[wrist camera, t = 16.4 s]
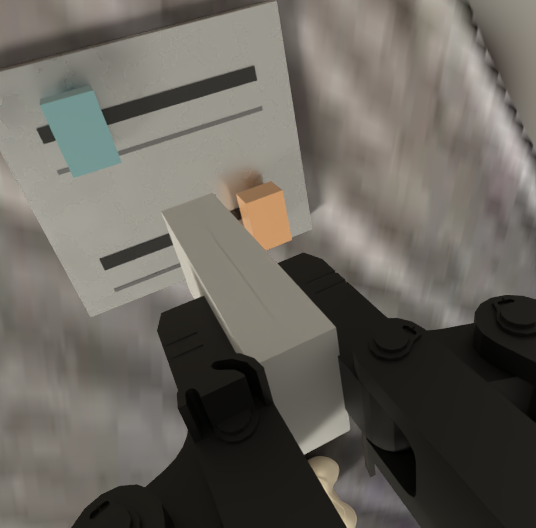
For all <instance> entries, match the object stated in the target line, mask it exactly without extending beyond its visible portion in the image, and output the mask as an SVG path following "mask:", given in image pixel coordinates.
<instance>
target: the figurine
mask: <svg viewBox="0 0 536 528" xmlns="http://www.w3.org/2000/svg"><path fill="white" fill-rule="evenodd" d="M308 462H309V464H310V466H311V467H312V469H313V471H314V472H315V474H316V476H317V477H318V479H319V481H320V482H321V484H322V486H323V488H324V489H325V491H326V493H327V494H328V496H329V498H330V499H331V501H332V503H333V505H334V506H335V508H336V510H337V511H338V513H339V515H340V516H341V518H342V520H343V522H344V523H345V525H346V527H347V528H355V526H356V522H357V517H356V513H355V511H354V510H353V509H352V508H351V507H350V506H349V505H348V504H346V503H345V502H342V501H341V500H340V499H339V497H338V496H337V494H336V493H335V491H334V489H333V486H334V484H335V483H336V481H337V478H338V475H339V466H338V464H337V463H336V462H335V461H334V460H332V459H331V458H329V457H325V456H316V457H313V458H310V459H309V460H308Z"/></svg>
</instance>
